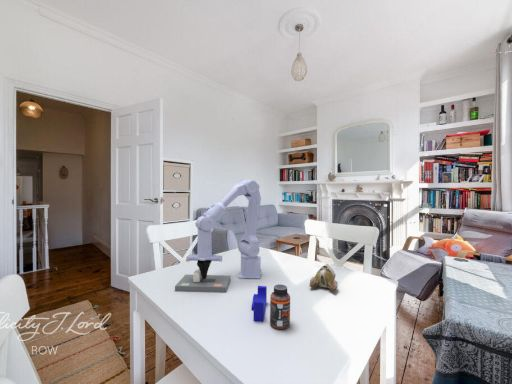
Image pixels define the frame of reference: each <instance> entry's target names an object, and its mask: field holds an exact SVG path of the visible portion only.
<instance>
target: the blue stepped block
mask: <svg viewBox="0 0 512 384" xmlns="http://www.w3.org/2000/svg"><path fill="white" fill-rule="evenodd" d="M267 289H268V286H267V285H257V293H253V296H252V302H251V311H253V320H252V321H253V322H262V323H264V319H265V313H266V308H267V297H268V296H267V292H268V290H267Z"/></svg>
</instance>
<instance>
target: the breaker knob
mask: <svg viewBox="0 0 512 384" xmlns="http://www.w3.org/2000/svg"><path fill="white" fill-rule="evenodd" d="M192 275H193V282H200V280H201V279H202V275H201V272H200V269H199V268H196V270H195V271H194V272H193V273H192Z"/></svg>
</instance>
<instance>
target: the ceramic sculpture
mask: <svg viewBox="0 0 512 384" xmlns="http://www.w3.org/2000/svg"><path fill="white" fill-rule="evenodd" d="M336 275H337V274H336V272H335V271H334V269H333V268H332V266H330V265H329V264H328V263H326V264H325V265H322V266H321V267H320V268H319V270H318V271H317V272H316V274H315V276H312V277H311V279H310V281H309V287H311V288H317V287H321V288H324V289H327V288H328V289H329V290H330V291H334V292H335V291H336V290H337V288H338V282H337V280H335V278H336Z"/></svg>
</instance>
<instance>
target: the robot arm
mask: <svg viewBox="0 0 512 384" xmlns="http://www.w3.org/2000/svg"><path fill="white" fill-rule="evenodd" d="M239 196H240V197H241V196H245V198H246V199H247V201H248V206H247V213H246V219H245V220H246V221H245V225H244V226H245V227H244V234H243V235H242V236H241V238H240V242H239V243H238V247H237V248H238V251H239V253H240V271H239V272H240V273H239V275H238V278H239V279H261V273H262V268H261V266H262V265H261V262H262V260H261V259H262V257H261V256H260V255H259V253H260V244H259V243H260V240H259V239H258V237H257V231H258V225H259V215H260V208H261V202H262V197H261V192H260V185H259V184H258V182H257V181H256V180H254V179H240V180H238V181H237V183H235V184H234V185H233V186H232V188H231V189H230V190H229V191H228V192H227V194H226V195H225V196H224V197H223V198H222V200H220V201H219V202H215V203H212V204H211V205H210V208H209V209H207V210H206V212H205V211H204V213H203V214H202V216H199V217H198V218H197V219H196V222H195V227H196V228H197V244H196V245H197V247H196V248H197V254H187V255H186V257H185V258H186V262H190V261H193V262H195V261H197V262H196V266H197V267H198V269H200V272H201V275H202V279H206V277H207V275H208V271H209V268H210V266H211V264H212V262H220V263H221V262H222V261H223V255H219V254H218V255H217V254H212V253H213V250H212V245H213V244H212V243H213V241H212V240H213V239H212V238H213V237H212V236H213V235H212V231H213V229H214V227H215V224H216V222H217V221H218V220H219V219H220V218H221V217H222V216H223V215H224V214H225V213H226V208H228V206H230V204H231V203H233V201H234V200H235V199H237V198H238V197H239Z"/></svg>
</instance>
